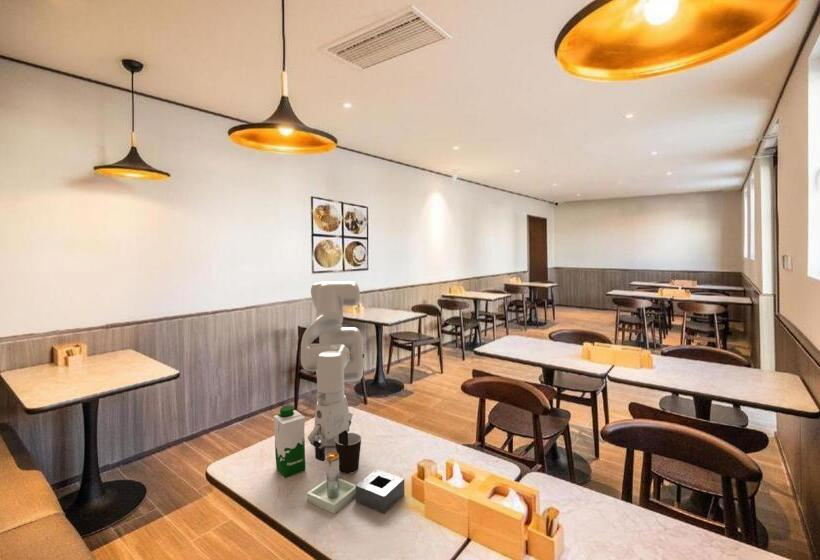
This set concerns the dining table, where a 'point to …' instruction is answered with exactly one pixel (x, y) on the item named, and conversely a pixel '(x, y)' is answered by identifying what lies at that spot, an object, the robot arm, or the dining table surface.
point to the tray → (332, 505)
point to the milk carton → (289, 441)
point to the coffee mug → (349, 453)
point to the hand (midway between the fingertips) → (332, 451)
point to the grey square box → (380, 491)
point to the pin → (333, 475)
